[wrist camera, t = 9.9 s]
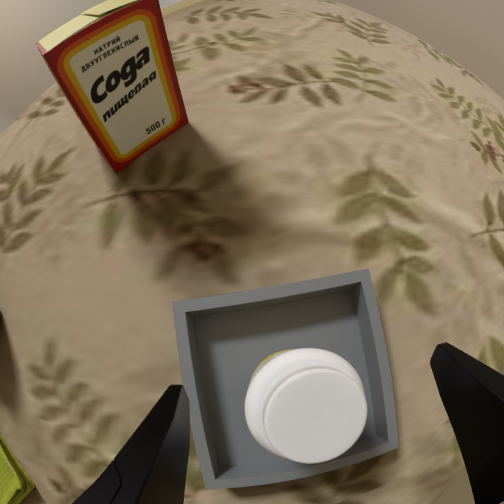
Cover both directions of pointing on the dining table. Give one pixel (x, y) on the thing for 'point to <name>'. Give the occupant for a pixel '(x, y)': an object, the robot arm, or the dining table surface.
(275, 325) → the tray
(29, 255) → the dining table surface
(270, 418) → the supplement bottle
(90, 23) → the baking soda box
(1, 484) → the dish towel
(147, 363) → the dining table surface
